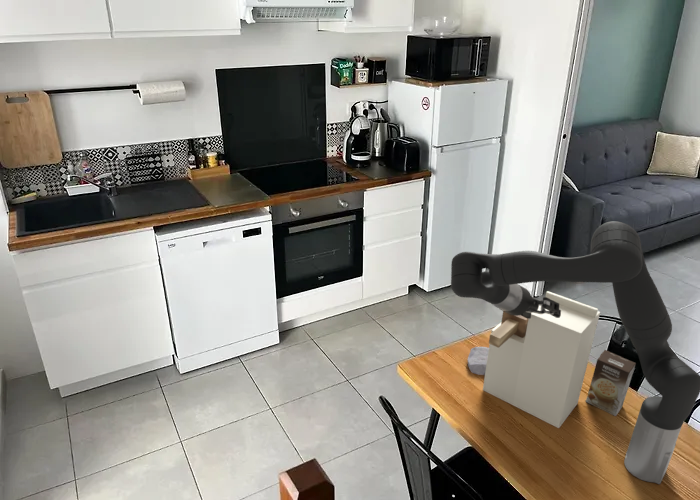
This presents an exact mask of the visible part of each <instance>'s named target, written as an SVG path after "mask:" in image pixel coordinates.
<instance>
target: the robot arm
mask: <svg viewBox="0 0 700 500" xmlns="http://www.w3.org/2000/svg"><path fill="white" fill-rule="evenodd" d="M642 248H643V247H642V240H641V238H640V236H639V233H638V232H637V231H636V229H634V228H633V227H632V226H630V225H629V224H627V223H624V222H621V221H615V220H614V221H608V222H605V223H603V224H601V225H600V226H598V227H597V228H596V229H595V231H594V232H593V234H592V237H591V241H590V254H586V255H584V256H577V257H564V256H563V257H562V256H556V255H552V254H548V253H545V252H540V251H536V250H520V251H513V252H505V253H502V254H501V253H498V254H491V253H482V252H474V251H473V252H472V251H462V252H459V253H457V254H455V255H454V256H453V258H452V259H451V265H450V266H451V267H450V268H451V271H450V272H451V273H450V287H451V290H452V292H453V293H454V294H455V295H456V296H458V297H460V298H468V299H469V298H471V299H472V298H473V299H478V300H483V301H485V302H487V303H489V304H491V305H492V306H493V307H495V308H497V309H499V310H500V311H502V312H503V311H504V312H506V313H508V314H510V315H515V316H519V315H521V316H523V317H525V318H527V319H530V318H531V313H537V314H544V313H546V314H550V315H552V316H554V317H556V318H560V316H561V310H559V303H557V302H555V301H553V300H551V299H549V298H547V297H543V298H542V299H539V298H535V297H534V296H532V295H531V292H530V291H529V290H528V289H527V288H526V287H523V286H522V285H520V284H527V283H535V282H536V283H537V282H567V283H568V282H569V283H599V284H600V283H605V284H606V283H611V285H612V289H613V295H614V300H615V304H616V309H617V313H618V316H619V319H620V320H621V323H622V326H623V329H625V332H626V333H627V335H628V337H629V340H630V341H631V343H632V346H633V347H634V349H635V350H636V353H637V356H638V359H639V362H640V366H641V370H642V373H643V376H644V378H645V380H646V382H647V383H648V384H649V385H650V386H651V387H652V388H653V389H654V390H655V391H656V392H657V393H658V394H659V395H661V396H658V395H657V396H649V397H646V398H645V399H644V400H643V401H642V403H641V406H640V408H639V409H640V410H639V413H638V415H637V418H636V423H635V424H634V428H633V431H632V434H631V438H630V441H629V444H628V446H627V451H626V454H625V457H624V460H623V461H624V466H625V468H626V469H627V471H628V472H629V473H630V474H631V475H632V476H634V477H636V478H637V479H639V480H642V481H643V482H644V481H645V482H648V483H655V484H658V485H661V483H662V481H663V479H664V477H665V475H666V473H667V471H668V467H669V464H670V461H671V459H672V456H673V453H674V451H675V448H676V445H677V441H678V438H679V434H680V432H681V430H682V427H683V424H684V422H685V421H686V419H687V418H688V417H689V416H690V414H691V412H692V411H693V408H694V406H695V404H696V401H697V399H698V398H699V395H700V374H699V373H698V372H696V370H694V369H693V368H692V367H691V366H689V365H688V364H687V363H686V362H685V361H683V360H682V359H681V358H679V356H677V354H675V352H674V351H673V349H672V348H671V346H670V344H669V342H668V340H669V338H670V337H671V334H672V332H673V323H672V320H671V317H670V315H669V312H668V310H667V307H666V304H665V303H664V300H663V298H662V296H661V294H660V292H659V290H658V288H657V286H656V284H655V282H654V280H653V278H652V276H651V275H650V274H651V273H649V270H648V268H647V264H646V260H645V257H644V253H643V249H642ZM483 269H488V270H485V271H483ZM539 306H541V310H540V311H538V308H539ZM545 309H547V310H549V311H547V310H545Z"/></svg>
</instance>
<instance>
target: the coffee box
mask: <svg viewBox="0 0 700 500" xmlns="http://www.w3.org/2000/svg"><path fill="white" fill-rule="evenodd" d="M636 364H637V363H636V362H634V361H632V360H629V359H627V358H624V357H623V356H621V355H618V354H616V353H614V352H611V351H609V350H606V349H604V350H603V351H602V353H601V354H600V355H599V357H598V358H597V360H596V363H595V368H594V370H593V375H592V378H591V382H590V385H589V388H588V392H587V396H586V399H585V402H586V403H587V404H589V405H592V406H593V407H595V408H598V409H600V410H602V411H604V412H606V413H608V414H610V415H611V416H614V417H617V415H618V413H620V410H622V407H623V406H624V402H625V399H626V396H627V393H628V391H629V387H630V383H631V380H632V377H633V374H634V371H635V367H636Z"/></svg>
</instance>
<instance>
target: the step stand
mask: <svg viewBox="0 0 700 500" xmlns="http://www.w3.org/2000/svg"><path fill="white" fill-rule="evenodd" d="M545 297H547V298H549V299H551V300H553V301H555V302H557V303H559V310H561V316H560V318H556V317H554V316H552V315H550V314H546V313H544V314H537V313H531V318H530V319H528V324H527V330H526V335H525V337H524V338H521V337H519V336H517V335H514V334H513V335H512V336H511V337H510V338H509V339H508V340H507V341H506V342H504V343H503V344H502V345H501V346H500V347H499V348H498V347H496V346H493V345H491V344H488V345H489V346H488V348H489V351H488V358H487V365H486V371H485V375H484V380H483V385H482V386H483V387H482V391H483V392H486V393H487V394H490V395H492V396H494V397H496V398H498V399H499V400H501V401H504V402H506V403H508V404H510V405H512V406H514V407H516V408H518V409H520V410H521V411H524V412H525V413H527V414H529V415H532V416H534V417H536V418H537V419H540V420H542V421H543V422H545V423H547V424H549V425H552V426H554V427H555V428H557V429H560V428H561V426H562V425H563V424H564V422H565V421H566V420H567V418H568V417H569V416H570V414H571V413H572V411H573V410H574V409H575V408H576V406H577V405H578V403H579V399H580V395H581V393H582V387H583V383H584V379H585V376H586V372H587V368H588V363H589V359H590V355H591V352H592V351H591V350H592V348H593V347H592V346H593V343H594V339H595V335H596V331H597V327H598V323H599V319H600V315H601V311H599V308H597V307H594V306H592V305H588V304H585V303H584V302H580V301H577V300H574V299H573V298H572V299H571V298H569V297H566V296H563V295H560V294H557V293H554V292H551V291H549V290H547V291H546V292H545ZM540 310H541V306H539V308H538V311H540ZM545 310H547V309H545ZM547 311H549V310H547ZM500 325H501V322H500V323H498V324H497V325H496V326H495V327H494V328H492V329H491V331H490V334H491V333H492V332H493V331H494V330H496V329H497V328H498V327H499V326H500Z"/></svg>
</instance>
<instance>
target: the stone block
mask: <svg viewBox="0 0 700 500" xmlns="http://www.w3.org/2000/svg"><path fill="white" fill-rule="evenodd" d="M488 351H489V346H488V347H487V346H474V347H472V348H471V349H470V352H469V354H468V356H467V360H466V361H467V367H468V368H469V369H468V370H470V372H471V373H472V374H476V375H477V376H479V375H480V376H485V371H486V365H487V358H488Z"/></svg>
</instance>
